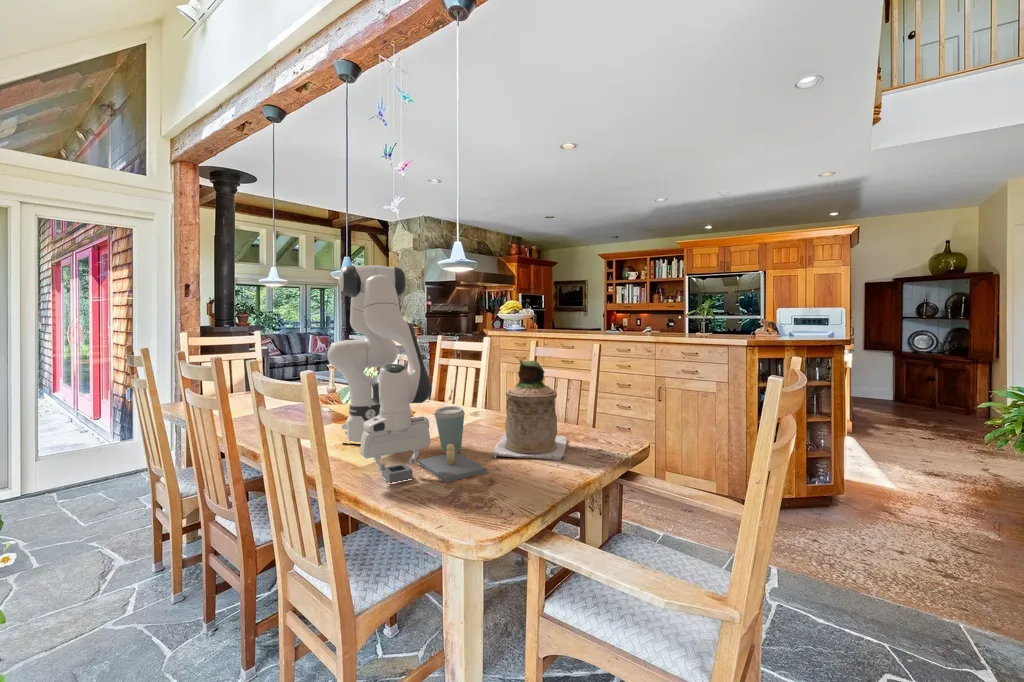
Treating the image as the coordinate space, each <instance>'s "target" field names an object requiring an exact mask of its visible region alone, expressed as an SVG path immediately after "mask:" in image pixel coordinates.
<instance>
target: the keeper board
mask: <svg viewBox="0 0 1024 682" xmlns="http://www.w3.org/2000/svg"><path fill="white" fill-rule="evenodd" d="M446 449H447V453H445V454H440V455H436V456H435V455H434V456H432V457H431V456H430V457H426V458H420V459H417V464H418V463H419V464H420V465H421V466H423V467H424V468H425V469H426V470H425V469H424V468H423V469H424V470H425V471H427V470H428V471H429V472H431V473H432V474H433V475H432V474H431V473H430V474H431V475H432V476H434V475H435V476H436V477H435V476H434V477H435V478H437V477H438V478H439V479H441V480H442V481H443V482H442V481H441V480H440V481H441V482H442V483H444V482H447V483H449V482H448V481H451V482H454V481H453V480H455V481H458V479H459V480H463V479H467V478H466V477H468V478H470V477H469V476H472V477H475V476H474V475H476V476H479V475H478V474H480V475H483V473H484V474H487V473H488V471H487V470H488V469H487V466H485V465H484V466H483V465H482V464H480V463H478V462H476V461H474V460H473V459H471V458H469V457H468V456H465V455H463V454H461V453H459V452H455V446H454V445H453V444H449V445H447V448H446ZM421 466H420V467H421ZM428 471H427V472H428ZM429 472H428V473H429ZM438 478H437V479H438ZM462 478H463V479H462ZM439 479H438V480H439Z"/></svg>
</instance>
